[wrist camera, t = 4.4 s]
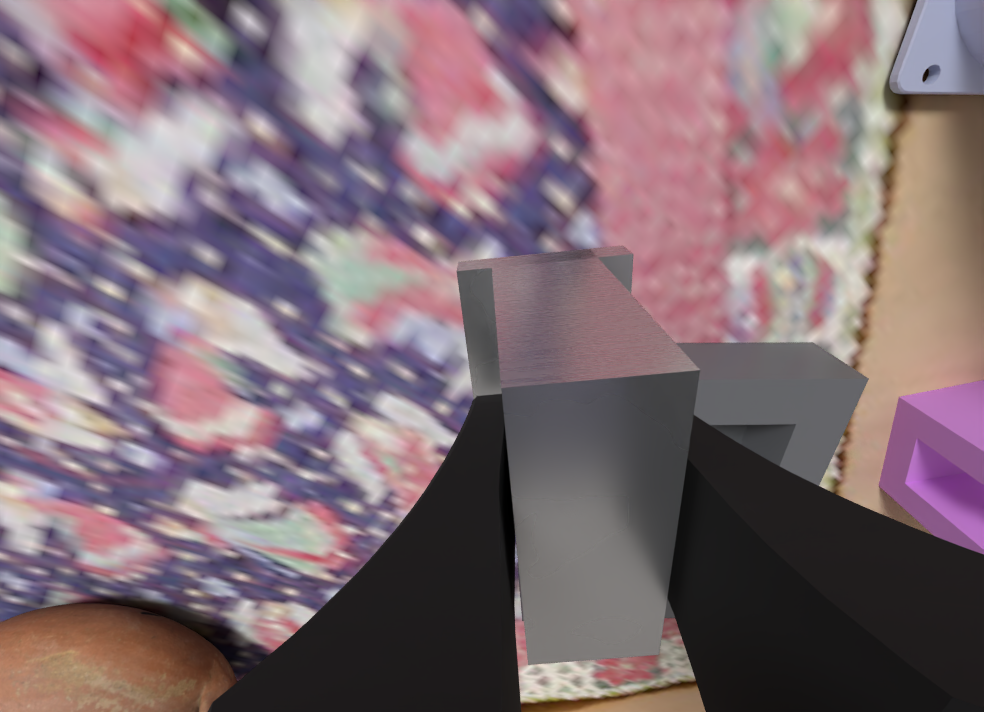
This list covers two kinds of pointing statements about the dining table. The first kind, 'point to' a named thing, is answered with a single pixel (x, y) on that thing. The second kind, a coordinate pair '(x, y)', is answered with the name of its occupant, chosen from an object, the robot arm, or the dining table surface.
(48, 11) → the dining table surface
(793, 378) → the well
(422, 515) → the robot arm
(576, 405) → the grey block
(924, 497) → the bracket
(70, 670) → the ceramic jug
